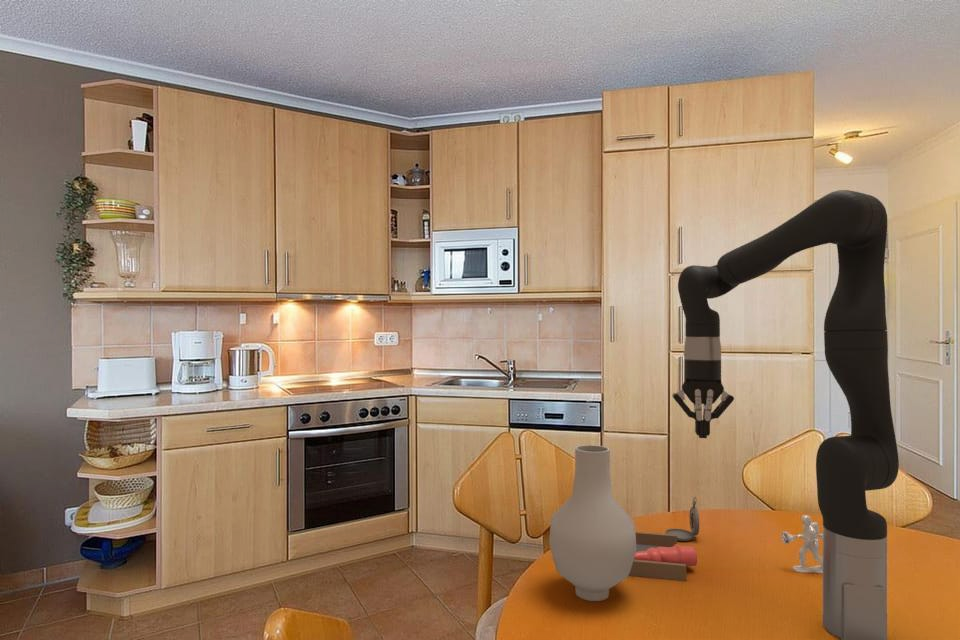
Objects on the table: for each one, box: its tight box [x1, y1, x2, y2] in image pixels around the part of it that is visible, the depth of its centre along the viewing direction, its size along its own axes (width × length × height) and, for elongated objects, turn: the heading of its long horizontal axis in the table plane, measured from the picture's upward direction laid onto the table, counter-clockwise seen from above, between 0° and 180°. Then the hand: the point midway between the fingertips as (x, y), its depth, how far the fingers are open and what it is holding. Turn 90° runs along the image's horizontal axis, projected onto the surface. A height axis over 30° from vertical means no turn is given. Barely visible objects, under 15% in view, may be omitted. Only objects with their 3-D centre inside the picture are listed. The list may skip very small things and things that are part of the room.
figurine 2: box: [634, 543, 698, 567], centre depth 124 cm, size 5×5×15 cm
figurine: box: [780, 514, 823, 575], centre depth 124 cm, size 5×9×12 cm, turn 99°
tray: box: [628, 530, 687, 582], centre depth 129 cm, size 18×18×3 cm
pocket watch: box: [664, 496, 700, 542], centre depth 142 cm, size 8×8×10 cm
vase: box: [548, 444, 637, 602], centre depth 113 cm, size 17×16×28 cm
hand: (702, 437), depth 127 cm, fingers closed
